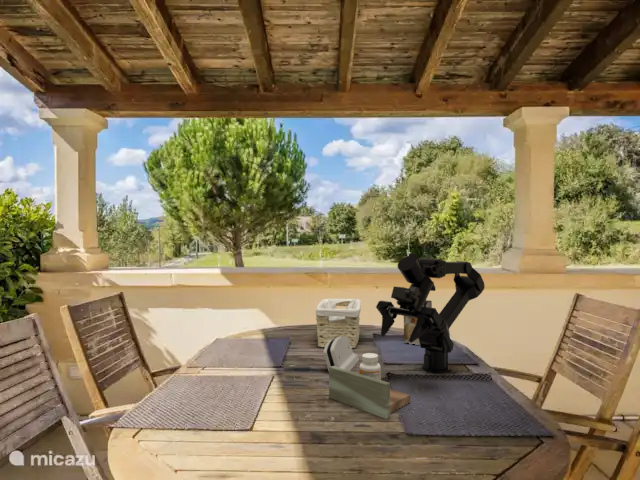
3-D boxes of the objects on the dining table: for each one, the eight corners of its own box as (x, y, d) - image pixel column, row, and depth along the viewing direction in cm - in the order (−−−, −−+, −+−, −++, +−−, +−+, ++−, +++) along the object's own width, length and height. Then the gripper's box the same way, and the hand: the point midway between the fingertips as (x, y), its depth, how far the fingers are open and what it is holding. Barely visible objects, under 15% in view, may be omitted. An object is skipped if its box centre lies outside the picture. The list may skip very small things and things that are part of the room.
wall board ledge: (357, 385, 122) (357, 357, 122) (413, 403, 110) (413, 372, 109) (329, 397, 114) (328, 367, 114) (386, 418, 101) (386, 384, 101)
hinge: (345, 376, 130) (334, 343, 131) (330, 379, 131) (320, 347, 132) (359, 359, 146) (349, 330, 146) (346, 362, 147) (336, 334, 148)
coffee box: (432, 343, 164) (432, 300, 164) (426, 347, 159) (426, 303, 158) (409, 339, 170) (409, 298, 169) (402, 343, 164) (402, 300, 164)
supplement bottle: (364, 387, 115) (364, 351, 115) (383, 391, 113) (383, 353, 112) (356, 394, 110) (355, 356, 110) (376, 398, 108) (376, 359, 108)
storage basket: (322, 332, 182) (322, 297, 181) (361, 333, 180) (361, 297, 179) (314, 349, 158) (314, 308, 158) (360, 350, 156) (359, 309, 156)
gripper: (379, 273, 130) (355, 316, 122) (436, 278, 116) (413, 326, 109) (395, 296, 135) (373, 338, 128) (451, 303, 122) (430, 351, 115)
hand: (395, 338), depth 120 cm, fingers open, 9 cm apart
